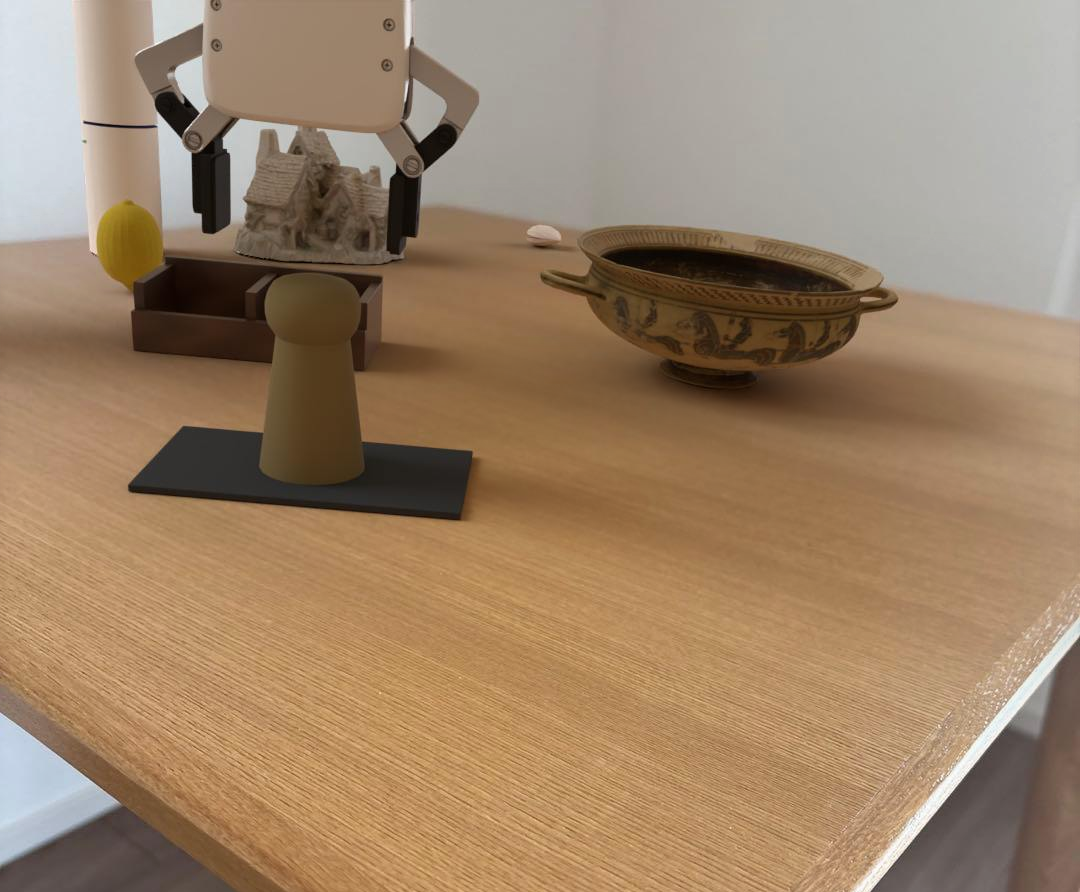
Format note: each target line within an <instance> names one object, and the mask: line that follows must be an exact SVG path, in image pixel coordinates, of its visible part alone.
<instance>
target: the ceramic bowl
mask: <svg viewBox="0 0 1080 892" xmlns="http://www.w3.org/2000/svg"><path fill="white" fill-rule="evenodd" d="M576 240H577V241H576V243H577V245H578V247H579V248H580V251H582V253H583V254H584V255H585V256H586V257H587V258H588V259H589V260H590V261H591V264H590V266H589V268H588V272H587V274H584V275H576V274H571V273H567V272H565V271H560V270H555V269H545V268H543V269H542V270H541V271H540V273H539V275H540V276H539V277H540V281H541V282H542V283H543V284H544V285H547V286H549V287H551V288H553V289H556V290H560V291H563V292H567V293H570V294H572V295H576V296H580V297H584V298H586V301H587V304H588V306H589V308H590V309H591V311H592V313H593V315H595V317H596V318H597V319H598V320H599V321H600V322H601V323H602V324H603V325H604V326H605V327H606V328H607V329H608V330H609V331H611V332H612V333H613V334H615V335H616V336H618V337H619V338H621V339H623V340H625V342H628V343H630V344H632V345H633V346H634V347H635V346H636V347H637V348H639V349H641V350H643V351H646V352H648V353H650V354H653V355H656V356H658V357H661V358H664V359H663V360H661V361H660V362H659V366H658V367H659V369H660V371H661V372H662V373H663V374H664V375H666V376H667V377H669V378H671V379H674V380H677V381H680V382H683V383H687V384H690V385H694V386H699V387H704V388H713V389H728V390H729V389H730V390H731V389H732V390H733V389H741V388H748V387H750V386H753V385H755V384H756V383H757V382H758V374H757V373H756V372H758V371H772V370H780V369H781V370H782V369H788V368H793V367H798V366H802V365H806V364H810V363H814V362H818V361H820V360H822V359H824V358H827V357H828V356H831V355H832V354H834V353H836V352H838V351H839V350H841V349H842V348H844V347H845V346H846V345H847V344H848V343H849V342H851V340H852V339H853V338H854V336H855V335H856V333H857V331H858V328H859V326H860V322H861V317H862V315H864V314H869V313H878V312H882V311H886V310H889V309H892V308H893V307H894V306H895V305H896V304H897V303H899V296H898V295H897V293H896V292H895V291H894V290H892V289H890V288H887V287H883V286H882V287H881V285H882V283H883V281H884V279H885V278H884V275H883V273H882V272H880V270H878V269H877V268H875V267H872V266H870V265H868V264H865V263H863V262H861V261H858V260H855V259H853V258H850V257H848V256H845V255H842V254H840V253H839V254H838V253H836V252H833V251H828V250H825V249H821V248H818V247H815V246H811V245H806V244H801V243H798V242H797V243H796V242H792V241H789V240H788V241H787V240H782V239H777V238H773V237H767V236H761V235H756V234H747V233H742V232H736V231H727V230H720V229H710V228H709V229H708V228H699V227H692V226H681V225H663V224H661V225H659V224H620V225H608V226H603V227H597V228H593V229H590V230H587V231H584V232H582V233H581V234H580V235H579V236H578V237H577V239H576ZM862 298H875V300H869V301H861V299H862Z"/></svg>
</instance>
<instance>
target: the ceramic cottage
mask: <svg viewBox="0 0 1080 892" xmlns="http://www.w3.org/2000/svg"><path fill="white" fill-rule="evenodd" d="M280 150H281V149H280V142H279V136H278V132H277V130H276V129H275V128H262V129H260V131H259V138H258V149H257V153H256V156H255V171H254V174H253V177H252V179H251V180H250V185H249V187H248V188H247V189H246V194H245V195H244V196H242V201H244V202H245V204H246V209H245V213H244V216H243V217H244V222H243V224H242V225H241V226H239V227H238V228H237V232H236V238H235V241H234V245H233V250H234V249H235V250H236V251H239V252H240V253H243V254H247V255H250V256H256V257H260V258H263V259H264V258H266V259H265V260H268V259H271V260H274V261H281V262H282V261H283V262H290V261H291V262H305V263H306V262H307V263H310V262H312V263H332V264H333V263H336V264H338V263H340V264H345V265H346V264H347V265H348V264H349V265H352V264H353V265H381V264H384V263H390V262H391V261H392V260H393V261H394V260H396V261H398V260H402V259H403V260H404V259H405V257H404V250H403V251H402V253H401V254H400V255H393V254H390V252H389V251H386V243H387V223H388V203H389V187H383V183H382V173H381V167H380V165H370V166H369V169H368V170H369V171H367V172H365V173H361V170H360V168H359V167H356V166H355V167H354V166H349V165H341V160H340V158H339V156H338V155H337V152H336V151H335V149H334V147H333V146H332V144H331V141H330V140H329V136H328V135H327V133H326V132H325V130H320V131H318V128H312V127H303V126H297V130H295V134H294V137H293V139H292V140H291V143H290V144H289V147H288V150H287V152H282V151H280ZM235 250H234V251H235ZM250 256H249V257H250Z"/></svg>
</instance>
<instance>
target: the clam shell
mask: <svg viewBox="0 0 1080 892" xmlns="http://www.w3.org/2000/svg"><path fill="white" fill-rule="evenodd" d="M526 233H527V235H529V236H527V237H526V240H527V241H528V242H529V243H530V244H531V245H534V246H539V247H550V246H553V245H557V244H559V243H560V242H561V241H562V236H561V233H560V232H559V231H558V230H556V229H555V228H554V227H552V226H551V225H544V224H537V225H533V226H531V227H530V228H529V229H528V230H527V231H526Z"/></svg>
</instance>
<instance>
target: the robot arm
mask: <svg viewBox="0 0 1080 892" xmlns="http://www.w3.org/2000/svg"><path fill="white" fill-rule="evenodd" d="M203 8H204V9H203V22H201V23H199V24H197V25H195V26H192V27H190V28H188V29H186V30H183V31H181V32H179V33H177V34H175V35H173V36H170V37H168V38H165V39H164V40H161V41H159V42H157V43H154V45H152V46H150V47H148V48H146V49H143V50H141V51H139V52H138V53H137V54H136V55H135V65H136V67H137V69H138V71H139V73H140V75H141V77H142V79H143V81H144V83H145V85H146V87H147V89H148V91H149V93H150V94H151V95H152V97H153V99H154V101H155V108H156V110H157V114H158V115H160V117H161V118H162V119H163V120H164V121H165V122H166V124H168V126H169V127H170V128H171V129H172V130H173V131H174V132H175V134H176V135H177V136H178V137H179V138H180V140H181V143H182V145H183V147H184V148H185V150H187V151H188V152H190V155H191V158H190V159H191V160H190V161H191V199H192V200H191V201H192V202H191V203H192V204H191V205H192V210H193V213H194V214H199V215H201V231H202V233H203V234H205V235H206V234H207V235H216V234H217V233H219V232H221V231H222V230H224V229H225V228H227V227H228V226H230V225H231V220H232V211H231V210H232V207H231V206H232V204H231V203H232V202H231V201H232V199H231V198H232V197H231V195H232V193H231V192H232V191H231V189H232V188H231V153H230V152H228V148H224V138H225V136H226V135H227V134H228V133H229V132H230V131H231V130H232V128H234V127H235V125H236V124H237V123H238V122H239V121H240V120H246V121H253V122H261V123H270V124H271V123H272V124H277V125H278V124H279V125H285V126H286V125H287V126H295V127H298V126H303V127H312V128H317V129H320V130H329V131H340V132H346V133H347V132H349V133H359V134H375V135H376V136H377V137H378V139H379V140H380V142H381V143H382V145H383V146H384V148H386V150H387V152H388V153H389V155H390V156H391V158H392V159H393V161H394V162H395V173H393V174H392V176H390V177H389V185H388V188H389V203H388V223H387V243H386V251H389V252H390V254H393V255H400V254H401V253H402V251H403V252H404V250H405V248H406V246H407V241H408V240H407V238H412V239H417V238H418V236H419V227H420V215H421V213H420V212H421V197H422V181H423V179H422V178H423V173H424V172H425V171H427V170H428V169H429V168H430V167H431V166H432V165H434V164H435V163H436V162H437V161H438V160H439V159H441V157H443V156H444V155H445V154H446V153H447V152H448V151H449V150H451V149H452V148H453V147H454V146H455V145H456V143H457V142H458V140H459V139H460V137H461V136H462V133H463V132H464V130H465V129H466V127H467V126H468V124H469V122H470V120H471V119H472V118H473V115H474V114H475V112H476V110H477V109H478V107H479V106H480V103H481V101H482V96H481V93H480V90H478V89H477V88H476V87H474V86H473V85H472V84H470V83H468V82H467V81H466V80H465V79H463V78H462V77H460V76H458V75H457V74H456V73H454V72H453V71H452V70H450V69H449V68H448V67H446V66H444V65H443V64H441V63H440V62H439V61H437V60H436V59H434V58H433V57H432V56H430V55H429V54H427V53H426V52H424V51H423V50H422V49H420V48H419V47H418V46H416V0H204V7H203ZM199 57H202V59H201V60H202V61H201V64H202V65H201V66H202V85H203V92H204V96H205V99H206V101H207V105H205V107H204V108H203V110H202V111H201V112H200V111H199V110H198V109H197V107H195V106H194V104H193V103H192V102H191V101H190V100H189V99H188V97H187V96H186V95H185V94H184V93H182V91H181V88H180V87H179V82H178V81H177V79H176V75H175V73H176V70H177V68H179V66H181V65H184V64H186V63H188V62H191V61H193V60H195V59H197V58H199ZM415 81H418V82H419V83H421V84H422V86H424V87H426V88H428V89H429V90H431V91H432V92H433V93H435V94H436V95H438V96H439V97H440V98H442V99H443V100H444V101H445V104H446V108H445V112H444V114H443V116H442V117H441V119H440V121H439V122H438V124H437V126H436V128H434V129H433V130H432V131H431V132H430V133H429V134H428V135H426V136H425V137H424V138H423V139H422V140H421V141H420V140H419V139H418V137H417V136H416V134H415V132H414V131H413V130H412V129H411V127H410V125H409V123H408V122H407V120H408V119H409V118H410V116H411V113H412V109H413V103H414V95H415V94H414V92H415Z"/></svg>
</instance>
